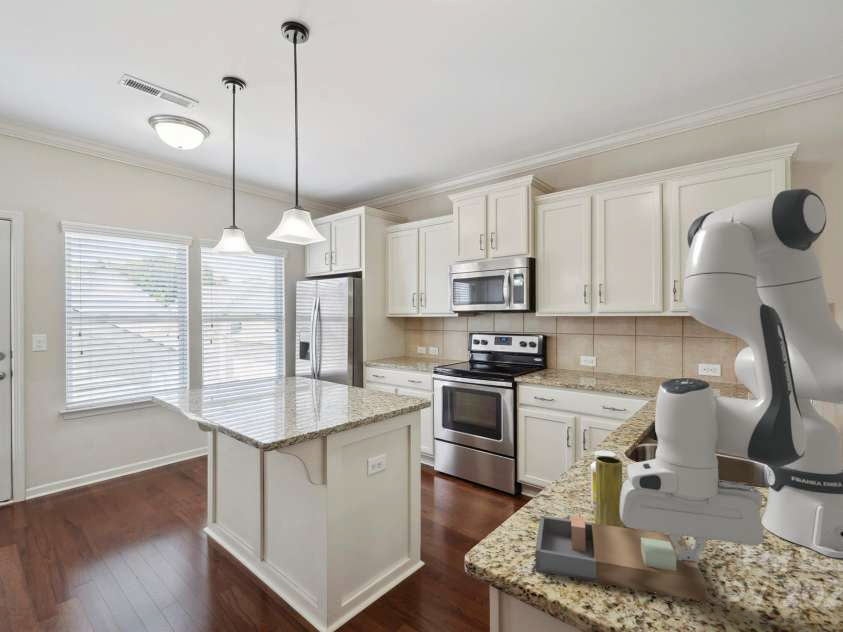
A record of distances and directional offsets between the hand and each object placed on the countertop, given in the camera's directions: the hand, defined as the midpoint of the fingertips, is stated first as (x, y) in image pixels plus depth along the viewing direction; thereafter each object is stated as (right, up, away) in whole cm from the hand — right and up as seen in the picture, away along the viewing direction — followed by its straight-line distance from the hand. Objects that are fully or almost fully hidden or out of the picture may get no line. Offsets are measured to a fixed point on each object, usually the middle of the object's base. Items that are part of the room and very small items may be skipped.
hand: (687, 560), depth 69 cm
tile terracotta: (-12, -2, +12) cm, 17 cm away
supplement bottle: (0, -5, +30) cm, 30 cm away
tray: (-17, -5, +10) cm, 20 cm away
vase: (-3, -5, +21) cm, 22 cm away
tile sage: (-4, -1, +2) cm, 4 cm away
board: (-5, -5, +6) cm, 9 cm away
